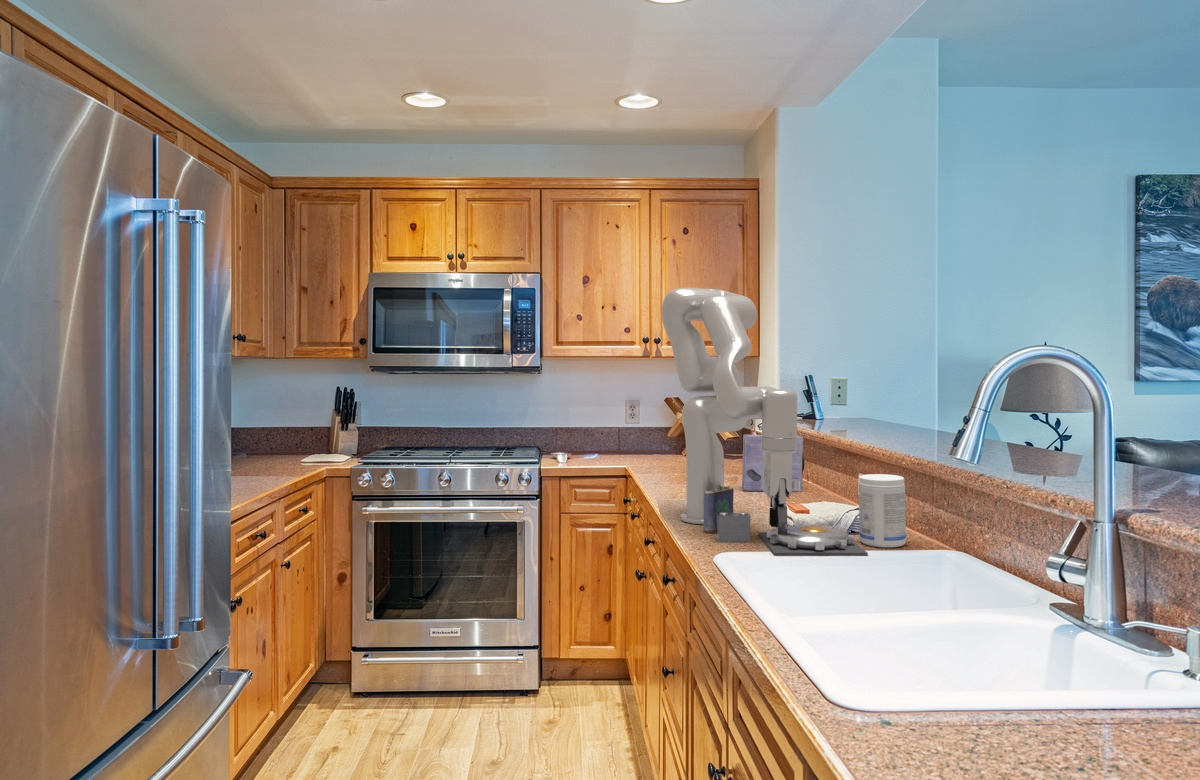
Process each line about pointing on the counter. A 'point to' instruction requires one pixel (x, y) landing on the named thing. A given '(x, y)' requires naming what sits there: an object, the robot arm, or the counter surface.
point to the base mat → (811, 549)
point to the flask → (716, 505)
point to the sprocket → (807, 534)
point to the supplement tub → (882, 510)
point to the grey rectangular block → (733, 527)
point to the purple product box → (755, 461)
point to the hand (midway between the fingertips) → (777, 525)
